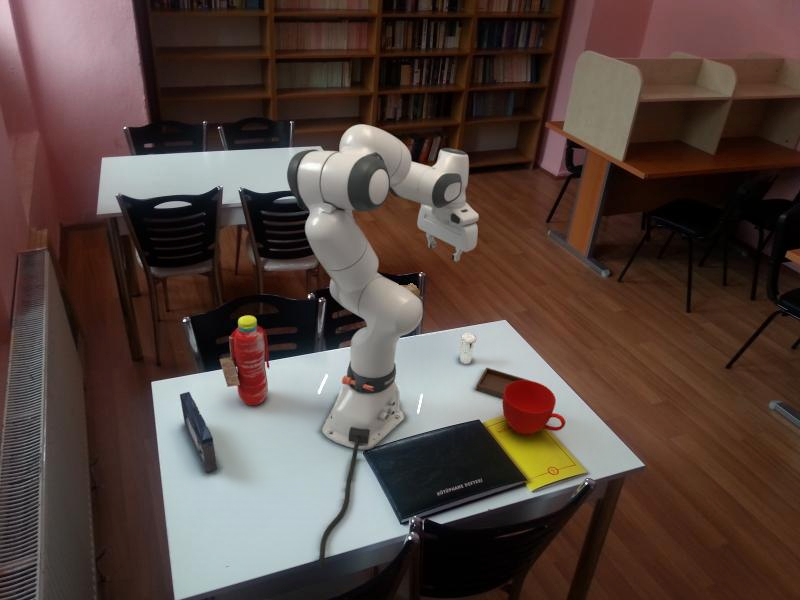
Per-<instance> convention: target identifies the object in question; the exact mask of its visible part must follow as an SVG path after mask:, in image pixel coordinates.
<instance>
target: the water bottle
mask: <svg viewBox="0 0 800 600" xmlns="http://www.w3.org/2000/svg"><path fill="white" fill-rule="evenodd" d="M257 322H258V320H257V318H256V317H255V316H254V315H244V316H241V317H239V318H238V320H237V325H238V326H237V328H236V329H235V330H234V331H233V332H232V333H231V335H230V336H229V337H228V339H229V343H228V344H229V354H230V356H228V357H223V358H220V359H219V362H220V366H221V369H222V374H223V376H224V380H225V383H226V387H227V388H230V387H237V393H238V394H237V395H238V396H239V398H240V400H241V401H242V402H243V403H244V404H246V405H248V406H257V405H260V404H262V403H263V402H264V401H265V400H266V398H267V395H268V391H269V383H268V382H269V381H268V376H267V370H266V369H270V362H269V358H270V356H269V355H270V354H269V343H268V338H267V333H266V331H265V329H264V328H263V327H262V326H259V325H258V323H257ZM235 362H236V363H235Z"/></svg>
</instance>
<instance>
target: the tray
mask: <svg viewBox="0 0 800 600" xmlns="http://www.w3.org/2000/svg"><path fill="white" fill-rule="evenodd" d="M519 380H528V381H531V380H530V379H527V378H523V377H519V376H516V375H512V374H510V373H507V372H503V371H500V370H496V369H492V368H490V367H485V369H484V371H483V373H482V375H481V376H480V378H479V381H478V382H477V383H476V388H475V390H476V391H478V392H481V393H484V394H488V395H491V396H494V397H497V398H501V399H503V394H504V390H505V388H506V386H507V385H508V384H510V383H512V382H514V381H519Z"/></svg>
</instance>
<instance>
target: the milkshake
mask: <svg viewBox="0 0 800 600" xmlns="http://www.w3.org/2000/svg"><path fill="white" fill-rule="evenodd" d="M476 342H477V337H476V335H475V334H473V333H471V332H463V333H462V334H460V349H459V361H460V363H461V364H464V365H468V364H470V363H471V362H472V358H473V354H474V350H475V346H476Z"/></svg>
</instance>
